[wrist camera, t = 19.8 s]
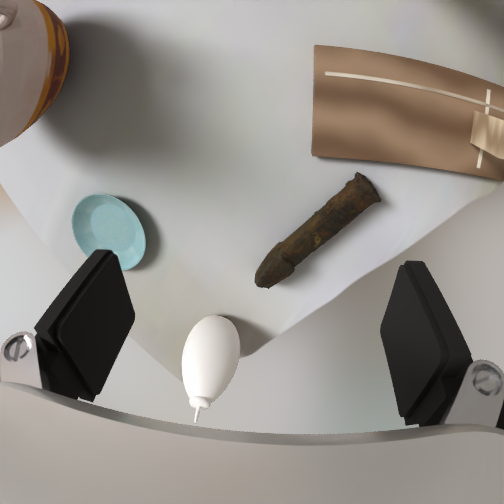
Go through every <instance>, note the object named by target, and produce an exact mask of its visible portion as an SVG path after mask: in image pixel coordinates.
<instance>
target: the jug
mask: <svg viewBox="0 0 504 504" xmlns="http://www.w3.org/2000/svg"><path fill="white" fill-rule="evenodd" d="M69 61H70V46H69V41H68V36H67V32H66V29H65V26H64V25H63V23H62V21H61V20H60V19H59V17H58V16H57V15H56V14H55V13H54V12H53V11H52V10H50V9H49V8H48V7H47V6H45V5H44V4H42V3H40V2H38V1H36V0H0V147H1V146H3V145H5V144H6V143H8V142H10V141H11V140H13V139H15V138H16V137H18V136H19V135H20V134H22V133H23V132H24V131H25V130H26V129H28V128H29V127H30V126H31V125H32V124H34V123H35V122H36V121H37V120H38V119H39V118H40V117H41V115H42V114H43V113H44V112H45V111H46V110H47V109H48V108H49V107H50V106H51V104H52V103H53V101H54V100H55V99H56V97H57V95H58V93H59V91H60V89H61V87H62V84H63V82H64V79H65V77H66V74H67V71H68V67H69Z"/></svg>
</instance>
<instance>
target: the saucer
mask: <svg viewBox="0 0 504 504" xmlns="http://www.w3.org/2000/svg"><path fill="white" fill-rule="evenodd" d="M72 229H73V234H74V236H75V239H76V242H77V243H78V245H79V247H80V248H81V250H82V251H83V252H84V253H85V255H86V256H87V257H88V258H89V256H90V255H91V254H92V253H93V252H94V251H95V250H96V249H108V250H112V251H113V252H114V254H116V255H117V256H118V259H119V262H120V266H121V269H122V271H124V270H128V269H131V268H133V267H134V266H136V265H137V264H138V263H139V262H140V261H141V259H142V257H143V255H144V253H145V248H146V239H145V233H144V230H143V227H142V224H141V222H140V221H139V219H138V217H137V216H136V214H135V213H134V212H133V211H132V210H131V209H130V208H129V206H127V205H126V204H125V203H123V202H122V201H121V200H119V199H117V198H115V197H113V196H110V195H107V194H92V195H89V196H87V197H85V198H83V199H82V200H81V201H80V202H79V203H78V204H77V206H76V207H75V209H74V212H73V216H72Z"/></svg>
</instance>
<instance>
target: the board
mask: <svg viewBox="0 0 504 504" xmlns="http://www.w3.org/2000/svg"><path fill="white" fill-rule="evenodd" d="M474 110H475V111H478V112H481V113H485V114H488V115H491V116H494V117H497V118H500V119H502V120H504V87H502V86H499V85H496V84H494V83H491V82H489V81H486V80H483V79H480V78H477V77H474V76H472V75H469V74H465V73H462V72H459V71H456V70H453V69H449V68H446V67H442V66H438V65H435V64H431V63H427V62H423V61H419V60H414V59H410V58H405V57H400V56H395V55H390V54H385V53H379V52H373V51H366V50H359V49H352V48H343V47H334V46H323V45H315V46H314V89H313V126H312V150H311V153H312V156H320V157H336V158H349V159H361V160H372V161H382V162H391V163H399V164H408V165H415V166H423V167H430V168H436V169H443V170H449V171H455V172H461V173H466V174H472V175H477V176H482V177H487V178H492V179H497V180H502V181H503V180H504V159H500V158H497V157H496V156H494V155H492V154H490V153H489V152H487V151H485V150H483V149H481V148H479V147H477V146H476V145H474V144H472V143H470V140H471V133H472V126H473V118H474Z"/></svg>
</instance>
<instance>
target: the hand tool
mask: <svg viewBox="0 0 504 504" xmlns="http://www.w3.org/2000/svg"><path fill="white" fill-rule="evenodd" d="M377 202H381V198H380V196H379V195H378V193H377V191H376V189H375V188H374V187H373V185H372V184H371V183H370V181H369V180H368V179H367V178H366V177H365V176H364V175H362V174H360V173H358V172H357V173H356V174H355V178H354V179H353V180H351V181H348V182H347V183H346V186H345V187H344V188H343V189H342V190H341V191H340V192H339V193H338V194H336V195H335V196H333V197H332V198H331V199H330V200H329V201H328V202H327V203H326V205H324V206H323V207H322V208H321V209H320V210H319V211H316V212H315V213H314V215H313V216H312V217H310V218H309V219H308V220H307V221H306V222H305V223H304V224H303V225H302V226H300V227H299V228H298V229H297V230H296V231H295V232H294V233H292V234H291V235H290V236H289V237H288V238H287V239H285V240H284V241H283V242H279V243H278V244H277V245H276V246H275V247H274V248H273V249H272V250H271V251H270V252H269V253H268V255H267V256H266V258H265V259H264V260H263V262H262V263H261V265H260V266H259V268H258V270H257V271H256V274H255V283H256V285H257V286H258V287H261V288H263V287H265V288H268V289H269V288H270V287H272V286H274V285H275V284H277V283H278V282H280V281H281V280H283V279H285V278H287V277H288V276H290V275H291V274H292V273H293V272H294V267H295V266H296V265H298V264H299V263H300V262H302V260H304V259H305V258H306V257H307V256H308V255H309V254H310V253H312V252H314V251H315V250H316V249H318V248H319V247H320V246H321V245H323V244H324V243H325V242H326V241H328V240H329V239H330V238H332V237H333V236H334V235H335V234H337V233H338V232H339V231H340V230H341V229H343V228H344V227H345V226H346V225H347V224H349V223H350V222H351V221H352V220H353V219H355V218H356V217H357V216H358V215H359V214H360V213H362V212H363V211H364V210H365V209H366V208H367V207H369V206H370V205H372V204H373V203H377Z"/></svg>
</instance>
